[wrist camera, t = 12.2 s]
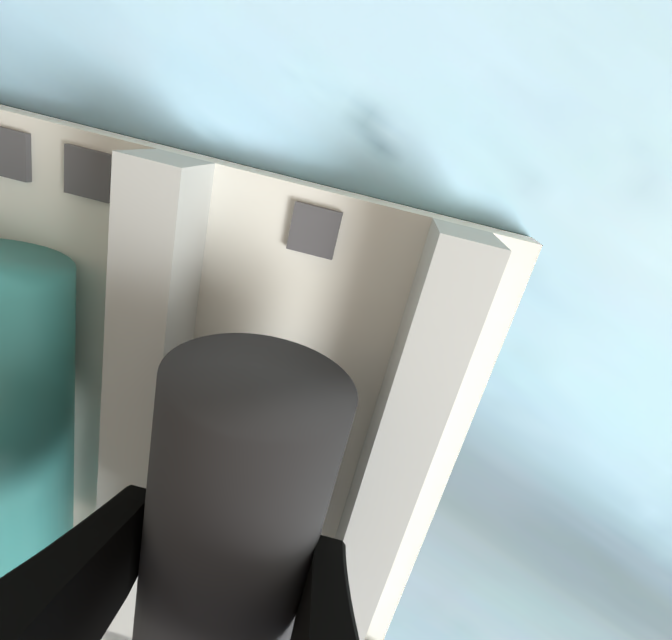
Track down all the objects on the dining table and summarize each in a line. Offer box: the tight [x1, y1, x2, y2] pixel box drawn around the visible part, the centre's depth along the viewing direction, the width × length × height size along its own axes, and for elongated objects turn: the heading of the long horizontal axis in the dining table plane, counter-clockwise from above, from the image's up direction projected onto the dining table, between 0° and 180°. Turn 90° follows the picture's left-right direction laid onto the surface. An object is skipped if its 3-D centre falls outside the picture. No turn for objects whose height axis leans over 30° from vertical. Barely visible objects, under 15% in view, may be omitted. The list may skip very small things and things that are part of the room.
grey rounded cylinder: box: [132, 333, 358, 640], centre depth 11 cm, size 9×4×4 cm, turn 167°
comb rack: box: [0, 104, 543, 640], centre depth 14 cm, size 16×18×3 cm
